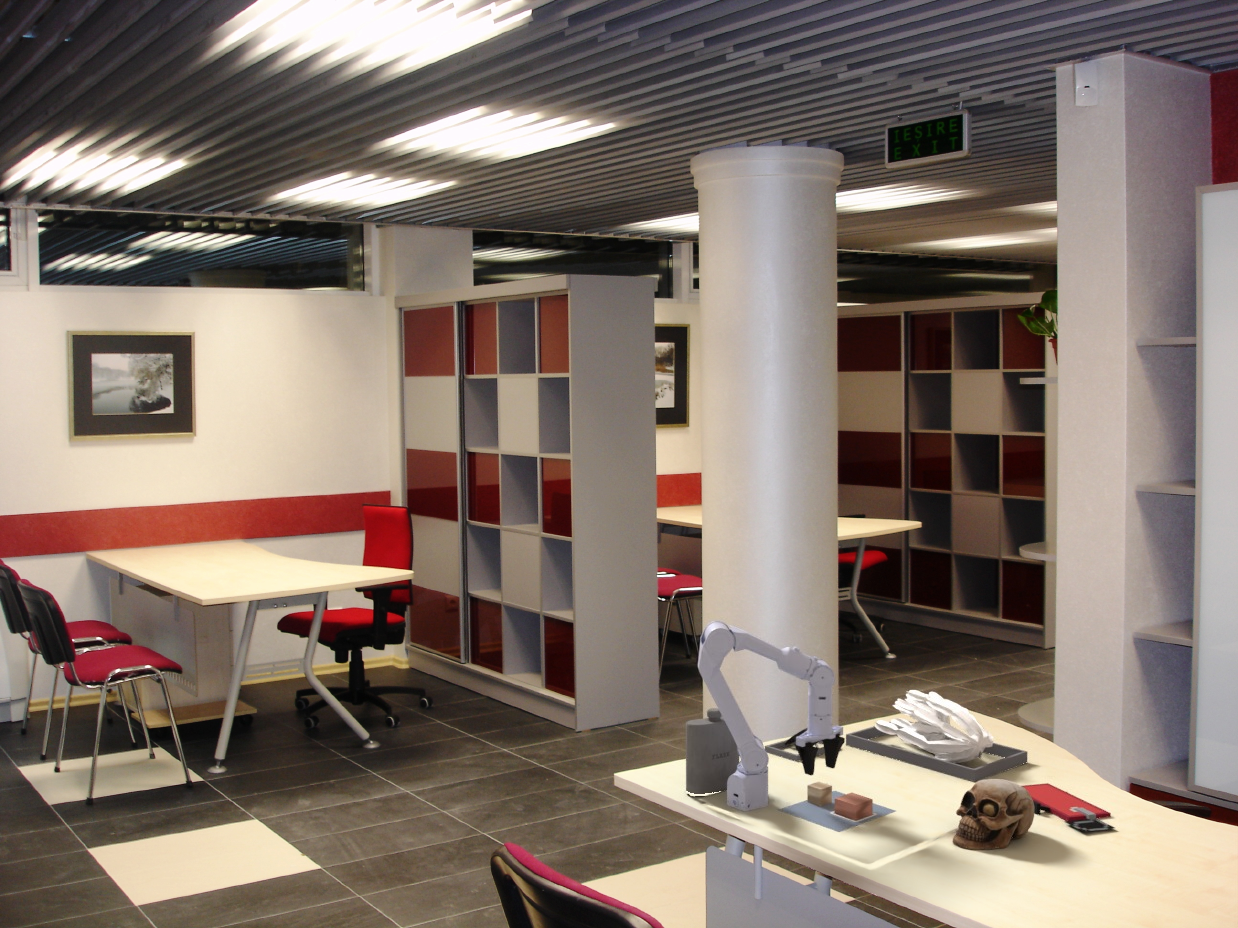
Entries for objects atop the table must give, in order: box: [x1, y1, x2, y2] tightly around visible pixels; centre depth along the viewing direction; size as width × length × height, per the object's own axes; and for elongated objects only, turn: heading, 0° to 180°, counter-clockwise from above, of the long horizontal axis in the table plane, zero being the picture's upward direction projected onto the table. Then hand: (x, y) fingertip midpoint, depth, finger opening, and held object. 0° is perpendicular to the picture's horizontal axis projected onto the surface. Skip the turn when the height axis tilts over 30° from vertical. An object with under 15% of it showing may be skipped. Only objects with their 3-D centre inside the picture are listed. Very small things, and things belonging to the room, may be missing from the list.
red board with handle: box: [1021, 782, 1116, 833], centre depth 270 cm, size 30×3×15 cm
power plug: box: [785, 727, 822, 748], centre depth 316 cm, size 6×8×12 cm
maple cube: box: [806, 781, 833, 807], centre depth 272 cm, size 4×4×4 cm
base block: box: [835, 792, 874, 821], centre depth 265 cm, size 6×6×4 cm
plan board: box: [777, 790, 896, 833], centre depth 267 cm, size 20×18×1 cm
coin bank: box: [952, 778, 1035, 851], centre depth 253 cm, size 16×17×13 cm
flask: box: [685, 707, 740, 794], centre depth 283 cm, size 15×6×20 cm, turn 122°
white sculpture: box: [874, 689, 994, 764], centre depth 312 cm, size 17×18×35 cm
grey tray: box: [845, 720, 1028, 783], centre depth 312 cm, size 24×41×3 cm, turn 39°
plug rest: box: [764, 739, 825, 762], centre depth 316 cm, size 18×12×2 cm, turn 129°
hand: (819, 770), depth 272 cm, fingers open, 7 cm apart
